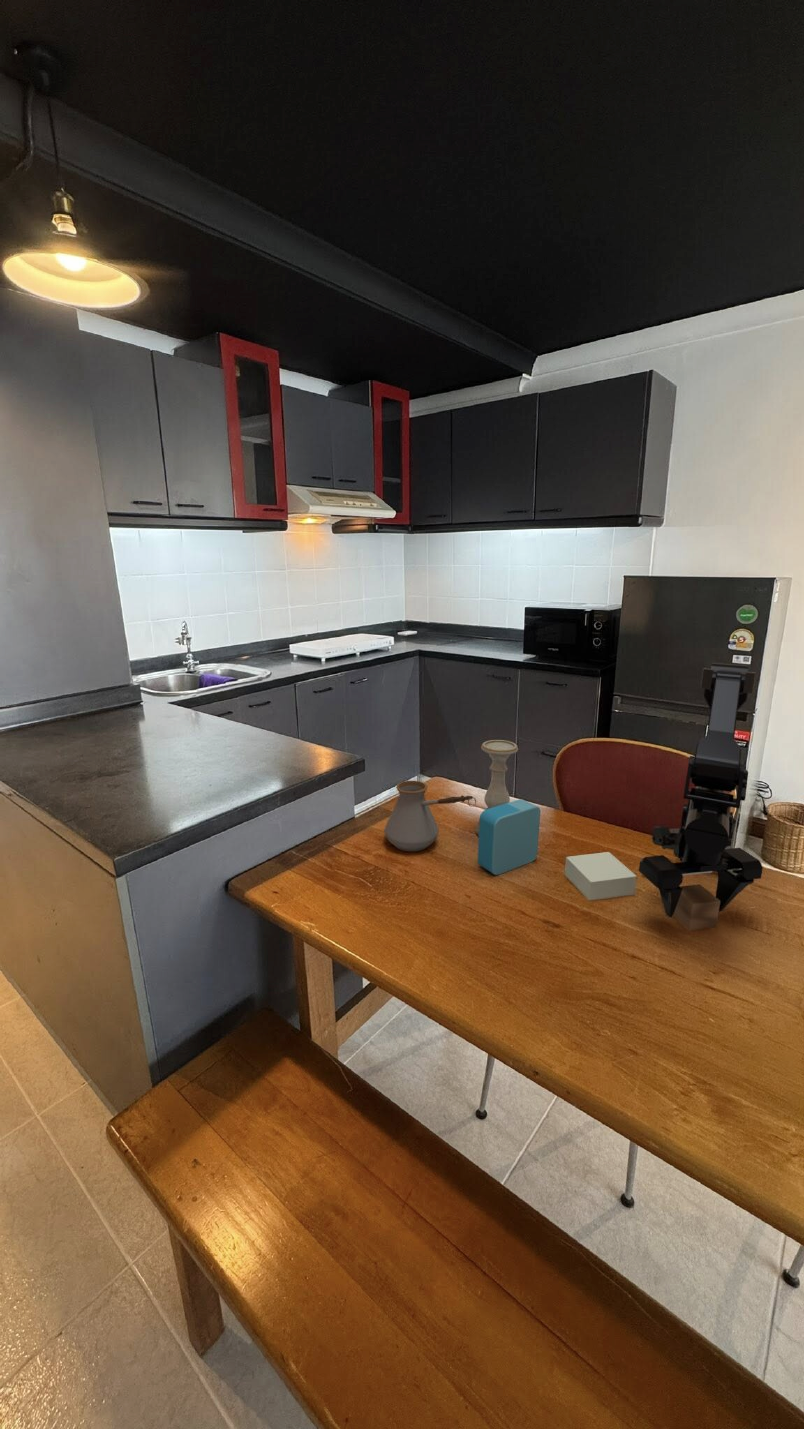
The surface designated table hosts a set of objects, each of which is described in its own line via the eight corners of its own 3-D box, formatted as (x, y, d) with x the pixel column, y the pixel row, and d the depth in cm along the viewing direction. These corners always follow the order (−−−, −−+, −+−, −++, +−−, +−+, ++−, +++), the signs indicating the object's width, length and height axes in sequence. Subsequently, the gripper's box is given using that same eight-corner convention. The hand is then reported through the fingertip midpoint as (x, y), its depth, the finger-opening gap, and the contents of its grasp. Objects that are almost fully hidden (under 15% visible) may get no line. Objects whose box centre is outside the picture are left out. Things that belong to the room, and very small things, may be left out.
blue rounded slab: (521, 851, 120) (524, 797, 117) (537, 860, 117) (541, 804, 114) (476, 867, 114) (479, 810, 111) (492, 877, 110) (495, 819, 107)
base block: (606, 870, 114) (608, 851, 113) (634, 895, 105) (636, 876, 104) (564, 875, 112) (566, 856, 111) (588, 902, 103) (591, 882, 102)
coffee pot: (373, 843, 123) (372, 777, 120) (409, 825, 132) (409, 762, 128) (453, 880, 110) (455, 806, 106) (488, 857, 118) (491, 788, 114)
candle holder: (471, 825, 132) (474, 739, 127) (509, 823, 133) (513, 738, 127) (480, 843, 124) (484, 752, 118) (520, 841, 124) (526, 751, 119)
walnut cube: (695, 910, 101) (699, 884, 99) (715, 927, 96) (720, 900, 95) (669, 913, 100) (673, 887, 99) (688, 931, 95) (692, 904, 94)
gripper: (722, 802, 103) (710, 881, 107) (625, 810, 99) (616, 892, 104) (772, 831, 92) (756, 917, 96) (665, 841, 89) (653, 930, 93)
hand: (693, 912), depth 98 cm, fingers open, 9 cm apart
